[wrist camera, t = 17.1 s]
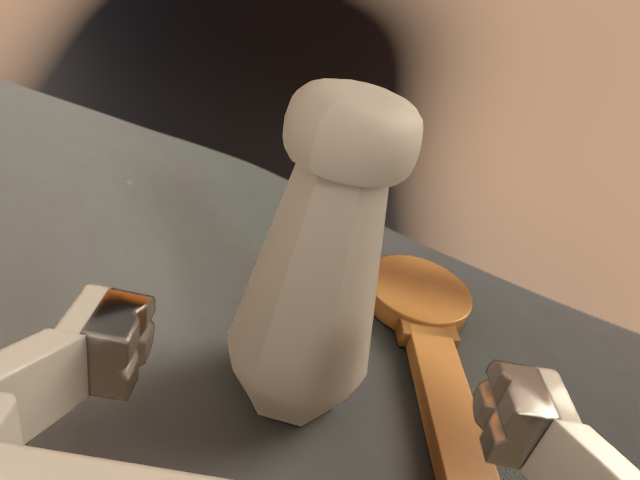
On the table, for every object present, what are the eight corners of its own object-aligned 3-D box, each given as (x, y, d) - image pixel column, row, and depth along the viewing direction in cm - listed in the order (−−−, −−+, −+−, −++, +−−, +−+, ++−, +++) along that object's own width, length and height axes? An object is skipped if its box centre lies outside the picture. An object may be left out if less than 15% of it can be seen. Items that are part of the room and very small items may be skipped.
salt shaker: (215, 340, 24) (252, 50, 17) (332, 334, 26) (408, 72, 19) (232, 453, 19) (293, 118, 12) (373, 436, 21) (493, 137, 14)
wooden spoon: (646, 781, 14) (671, 768, 13) (429, 774, 13) (444, 759, 12) (451, 278, 32) (458, 263, 32) (357, 263, 31) (362, 247, 31)
